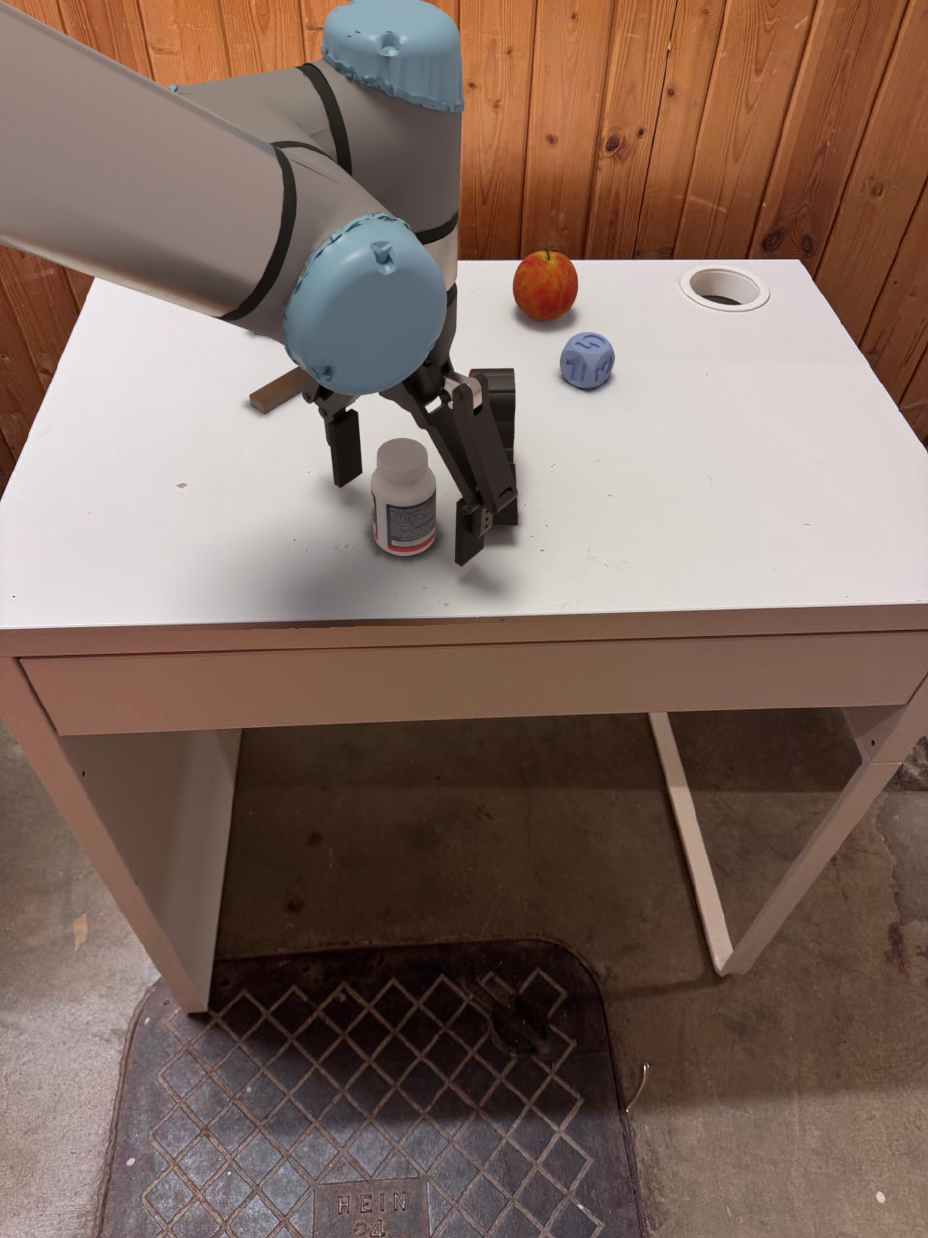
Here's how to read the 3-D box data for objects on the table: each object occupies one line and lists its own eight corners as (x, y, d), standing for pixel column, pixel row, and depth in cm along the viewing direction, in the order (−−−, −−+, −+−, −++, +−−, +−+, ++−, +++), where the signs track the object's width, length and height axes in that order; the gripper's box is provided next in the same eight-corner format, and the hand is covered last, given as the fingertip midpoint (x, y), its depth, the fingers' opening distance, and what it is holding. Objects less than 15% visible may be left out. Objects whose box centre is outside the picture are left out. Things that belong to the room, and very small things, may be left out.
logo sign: (459, 413, 89) (463, 309, 81) (495, 413, 90) (503, 309, 81) (474, 547, 78) (481, 442, 69) (515, 545, 78) (527, 441, 70)
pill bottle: (448, 535, 79) (451, 454, 72) (404, 567, 76) (403, 486, 69) (404, 505, 81) (403, 423, 74) (360, 535, 78) (354, 453, 72)
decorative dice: (556, 376, 94) (561, 342, 91) (581, 360, 96) (586, 326, 93) (587, 394, 92) (593, 359, 89) (612, 377, 94) (618, 343, 91)
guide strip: (264, 413, 88) (262, 403, 87) (250, 404, 89) (248, 394, 88) (431, 313, 101) (431, 303, 100) (418, 306, 101) (418, 296, 100)
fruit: (570, 298, 103) (579, 229, 97) (577, 334, 99) (587, 264, 93) (508, 297, 103) (513, 228, 97) (512, 333, 99) (518, 262, 92)
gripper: (588, 330, 57) (553, 564, 74) (310, 197, 67) (333, 429, 84) (513, 384, 54) (494, 618, 70) (230, 235, 64) (271, 470, 80)
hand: (406, 516), depth 77 cm, fingers open, 13 cm apart
